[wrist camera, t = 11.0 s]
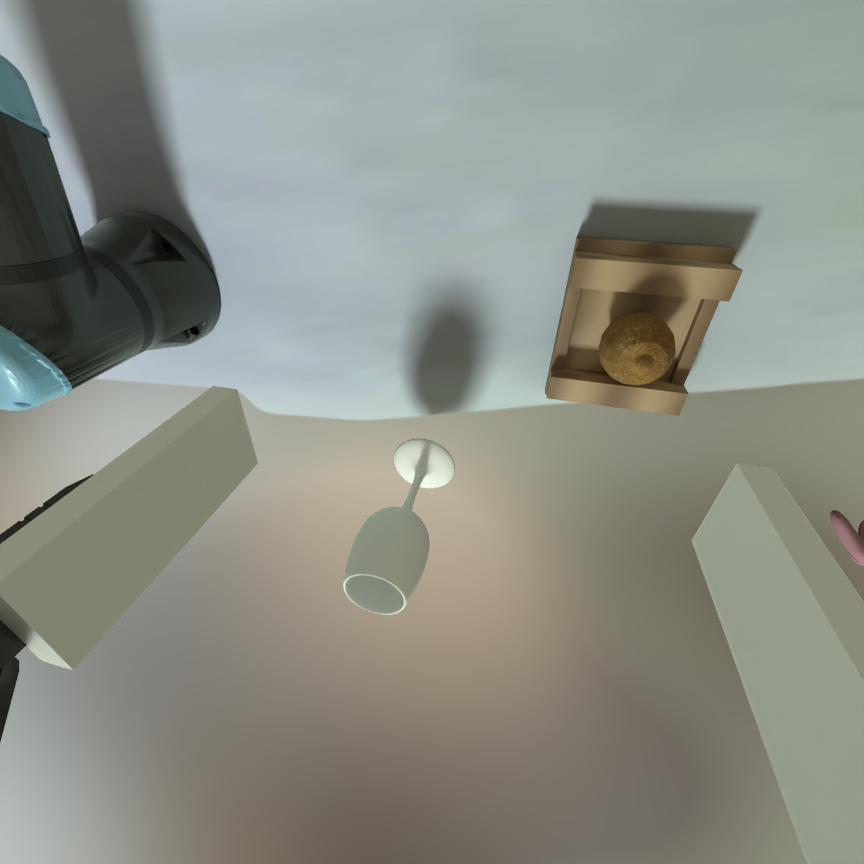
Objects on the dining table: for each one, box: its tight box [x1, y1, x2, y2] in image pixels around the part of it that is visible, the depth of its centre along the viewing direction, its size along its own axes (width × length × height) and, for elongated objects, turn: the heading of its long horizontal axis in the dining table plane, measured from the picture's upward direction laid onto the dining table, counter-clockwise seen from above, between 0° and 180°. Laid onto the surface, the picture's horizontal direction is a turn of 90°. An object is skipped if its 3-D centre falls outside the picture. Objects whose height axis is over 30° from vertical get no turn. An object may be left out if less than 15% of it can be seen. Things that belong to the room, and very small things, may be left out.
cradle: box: [545, 237, 743, 416], centre depth 40 cm, size 13×16×4 cm
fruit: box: [599, 312, 676, 385], centre depth 38 cm, size 6×6×8 cm
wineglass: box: [343, 439, 455, 615], centre depth 50 cm, size 9×9×21 cm
